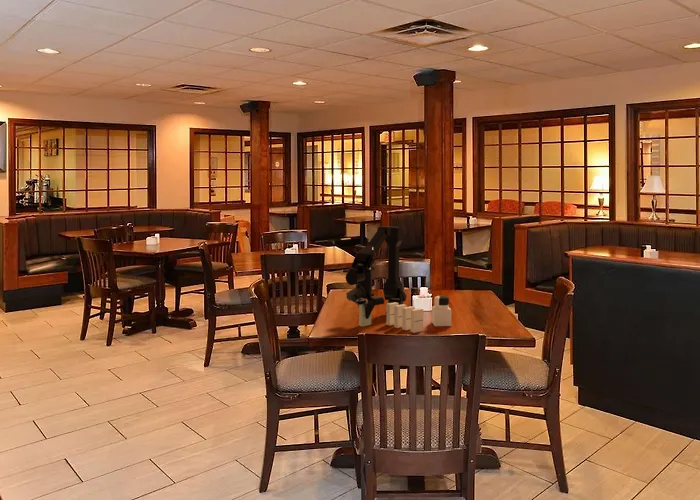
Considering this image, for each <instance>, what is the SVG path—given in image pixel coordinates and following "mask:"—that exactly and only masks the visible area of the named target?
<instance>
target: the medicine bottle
mask: <svg viewBox="0 0 700 500" xmlns="http://www.w3.org/2000/svg"><path fill="white" fill-rule="evenodd" d="M433 301H434V305H432V306H431V323H432V325H433V326H434V327H452V308H450V307H449V306H450V297H449V296H446V295H437V296H435V297H434V300H433Z"/></svg>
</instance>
